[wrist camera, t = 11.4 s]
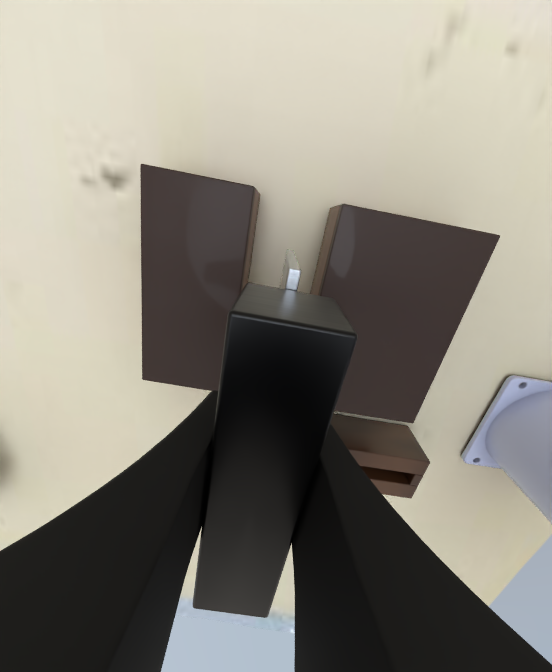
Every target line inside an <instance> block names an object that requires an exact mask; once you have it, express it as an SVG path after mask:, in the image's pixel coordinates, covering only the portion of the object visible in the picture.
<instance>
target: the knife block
mask: <svg viewBox="0 0 552 672" xmlns="http://www.w3.org/2000/svg"><path fill="white" fill-rule="evenodd" d="M330 423H331V424H332V426H333V427H334V429H335V430H336V432H337V434H338V435H339V437H340V438H341V440H342V441H343V443H344V444H345V446H346V447H347V448H348V450H349V451H350V453H351V454H352V456H353V457H354V458H355V460H356V461H357V463H358V464H359V465H360V467H361V468H362V469H363V471H364V472H365V473H366V475H367V476H368V477H369V479H370V480H371V481H372V482H373V484H374V485H375V486H376V488H377V489H378V490H379V491H380V493H381V494H385V495H392V496H398V497H405V498H412V496H413V494H414V492H415V490H416V488H417V486H418V485H419V483H420V481H421V479H422V477H423V475H424V473H425V471H426V469H427V468H428V466H429V464H430V461H429V459H428V458H427V456H426V454H425V453H424V451H423V450H422V448H421V446H420V445H419V443H418V442H417V440H416V438H415V437H414V435H413V434H412V432H411V430H410V429H409V427H408V426H404V425H398V424H391V423H385V422H379V421H373V420H367V419H360V418H354V417H348V416H342V415H336V414H333V416H332V419H331V422H330Z"/></svg>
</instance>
